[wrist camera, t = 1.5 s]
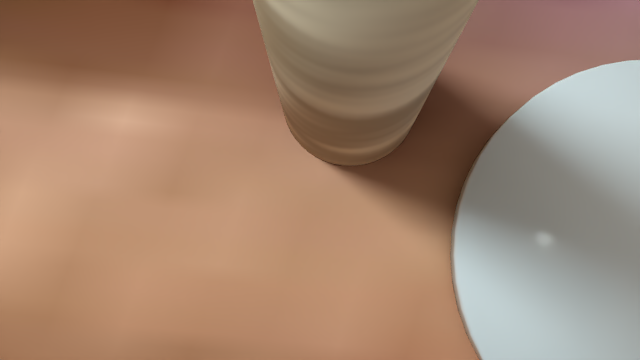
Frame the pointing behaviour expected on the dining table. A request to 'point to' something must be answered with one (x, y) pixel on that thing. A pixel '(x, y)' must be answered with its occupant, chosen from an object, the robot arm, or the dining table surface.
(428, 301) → the dining table surface
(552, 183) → the plate
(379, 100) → the beige striped cylinder
